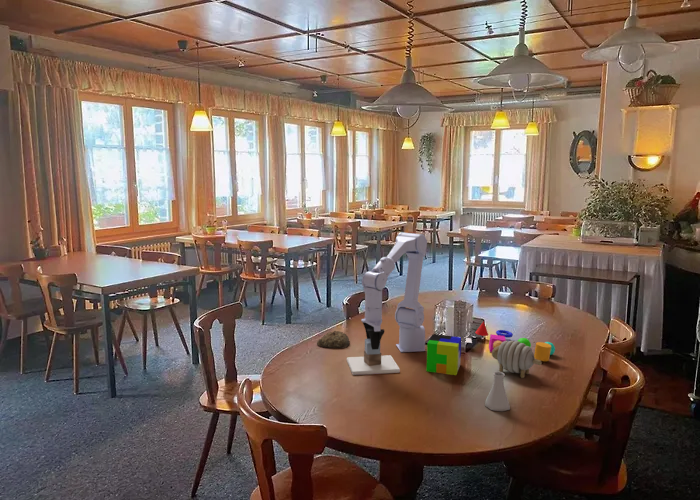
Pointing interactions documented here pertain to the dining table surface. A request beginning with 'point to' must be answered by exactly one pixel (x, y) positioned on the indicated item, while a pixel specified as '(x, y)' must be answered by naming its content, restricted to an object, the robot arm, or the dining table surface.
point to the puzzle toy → (443, 354)
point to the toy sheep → (515, 357)
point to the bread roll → (334, 340)
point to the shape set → (541, 348)
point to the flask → (497, 394)
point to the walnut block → (372, 359)
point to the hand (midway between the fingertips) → (372, 345)
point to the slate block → (370, 348)
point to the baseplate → (361, 367)
